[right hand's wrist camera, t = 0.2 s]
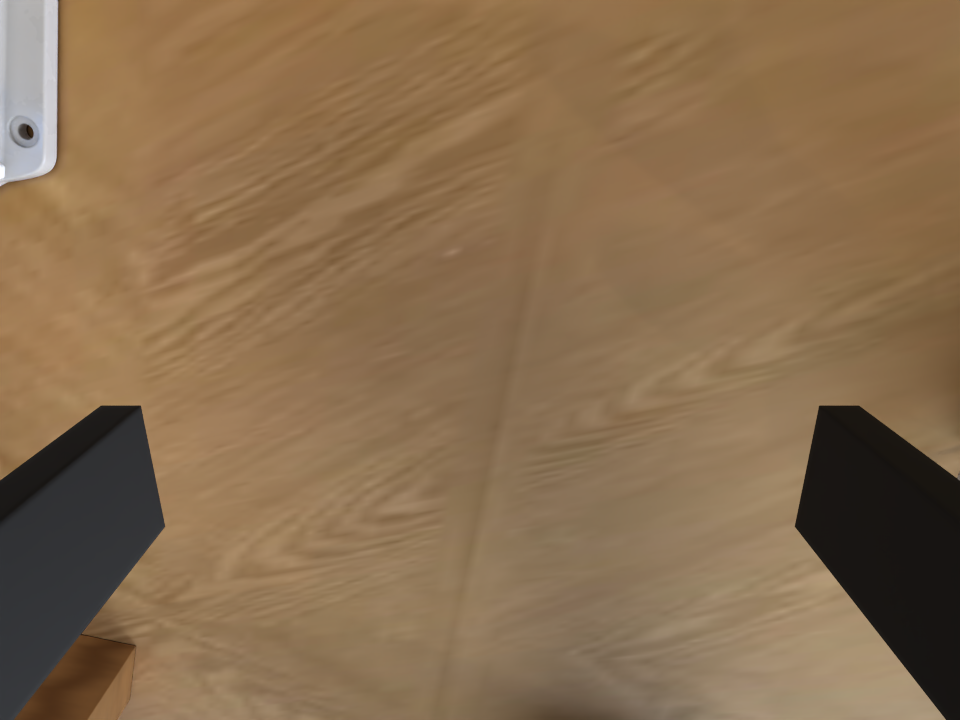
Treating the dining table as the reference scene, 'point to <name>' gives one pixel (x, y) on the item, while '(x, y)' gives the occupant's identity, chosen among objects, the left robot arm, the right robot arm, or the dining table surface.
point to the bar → (85, 683)
